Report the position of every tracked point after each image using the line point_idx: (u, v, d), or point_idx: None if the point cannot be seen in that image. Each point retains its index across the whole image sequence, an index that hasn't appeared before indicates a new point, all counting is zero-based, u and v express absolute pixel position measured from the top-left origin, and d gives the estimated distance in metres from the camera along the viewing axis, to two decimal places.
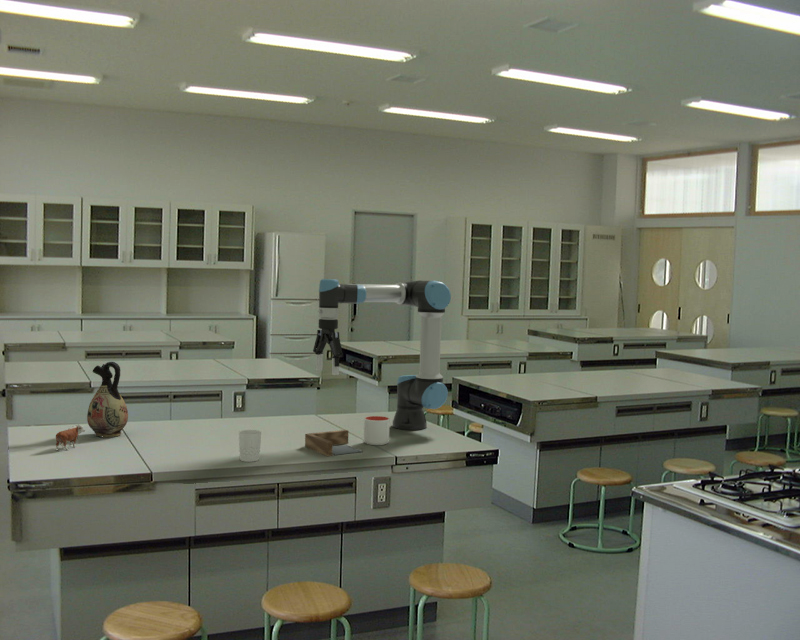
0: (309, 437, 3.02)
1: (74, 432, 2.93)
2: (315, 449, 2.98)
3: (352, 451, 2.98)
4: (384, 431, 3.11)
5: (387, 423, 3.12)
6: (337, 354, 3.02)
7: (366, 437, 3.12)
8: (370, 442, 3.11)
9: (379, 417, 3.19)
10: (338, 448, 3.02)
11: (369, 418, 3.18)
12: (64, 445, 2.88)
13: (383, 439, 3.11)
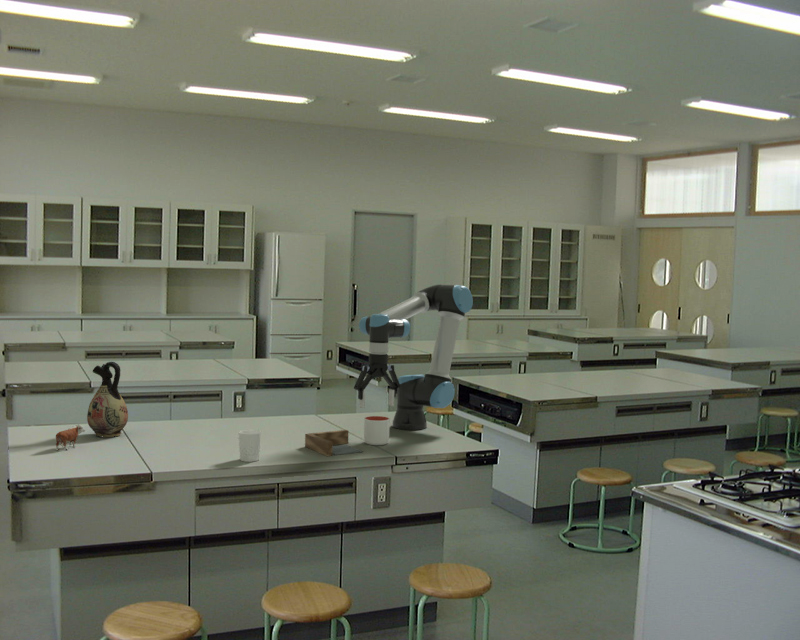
0: (309, 437, 3.02)
1: (74, 432, 2.93)
2: (315, 449, 2.98)
3: (352, 451, 2.98)
4: (384, 431, 3.11)
5: (387, 423, 3.12)
6: (354, 386, 3.09)
7: (366, 437, 3.12)
8: (370, 442, 3.11)
9: (379, 417, 3.19)
10: (338, 448, 3.02)
11: (369, 418, 3.18)
12: (64, 445, 2.88)
13: (383, 439, 3.11)
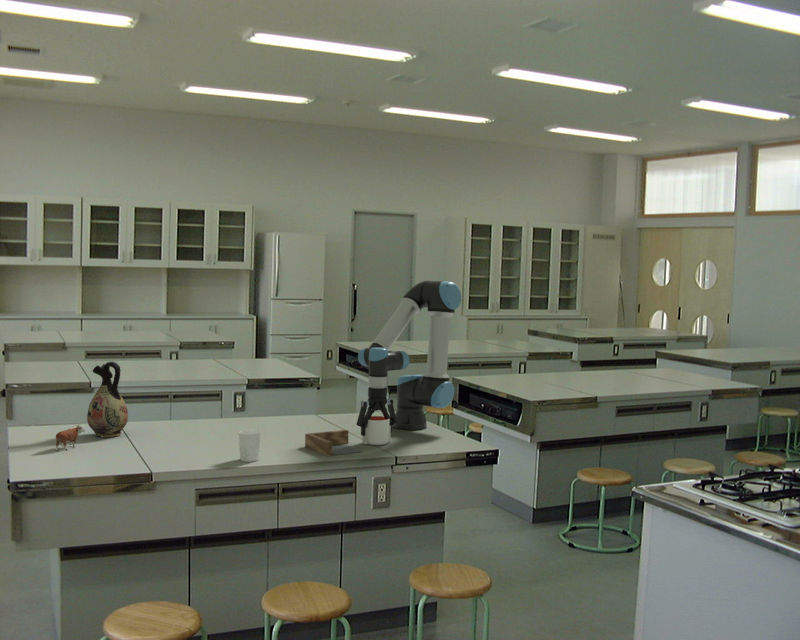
0: (309, 437, 3.02)
1: (74, 432, 2.93)
2: (315, 449, 2.98)
3: (352, 451, 2.98)
4: (384, 431, 3.11)
5: (387, 423, 3.12)
6: None
7: None
8: (370, 442, 3.11)
9: (379, 417, 3.19)
10: (338, 448, 3.02)
11: None
12: (64, 445, 2.88)
13: (383, 439, 3.11)
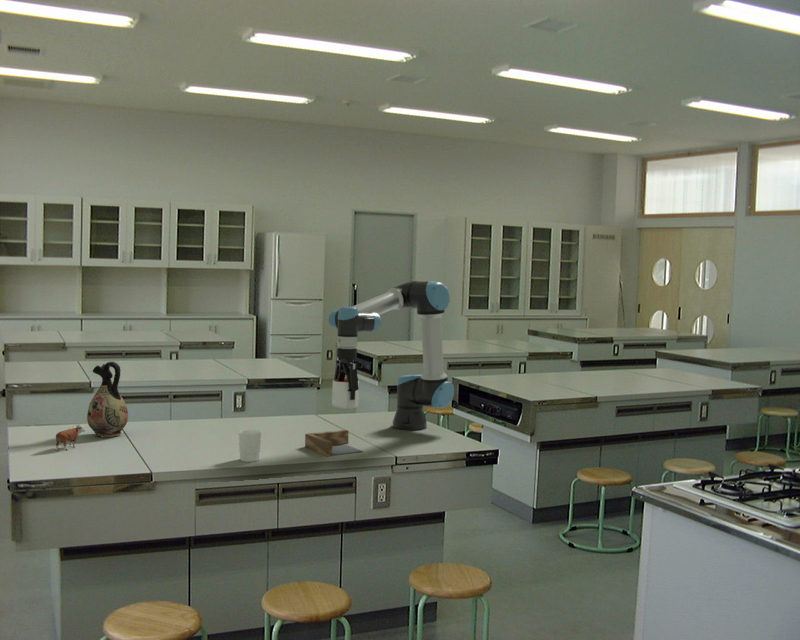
0: (309, 437, 3.02)
1: (74, 432, 2.93)
2: (315, 449, 2.98)
3: (352, 451, 2.98)
4: None
5: None
6: (352, 387, 2.93)
7: None
8: (355, 405, 2.98)
9: (334, 381, 3.02)
10: (338, 448, 3.02)
11: None
12: (64, 445, 2.88)
13: None
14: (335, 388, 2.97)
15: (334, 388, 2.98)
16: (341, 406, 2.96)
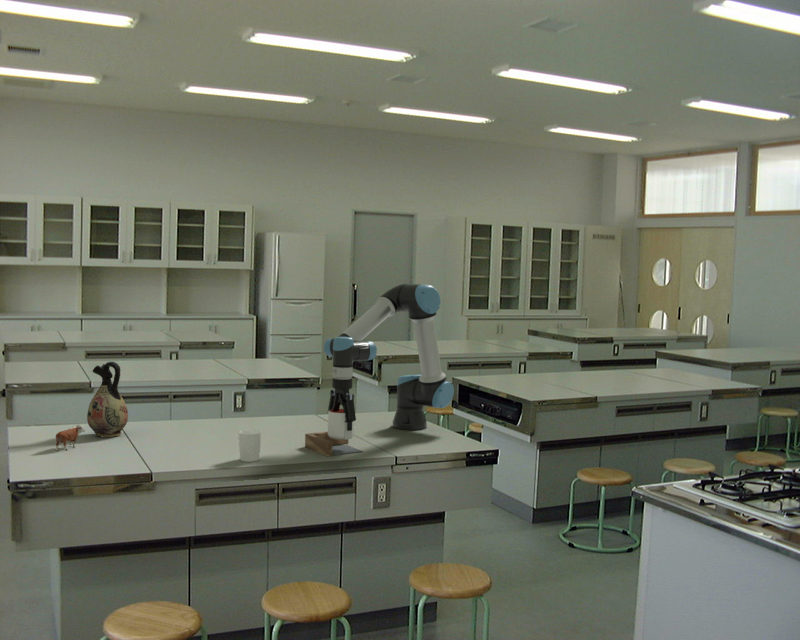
0: (309, 437, 3.02)
1: (74, 432, 2.93)
2: (315, 449, 2.98)
3: (352, 451, 2.98)
4: None
5: None
6: (350, 419, 2.92)
7: None
8: (352, 435, 2.98)
9: (329, 411, 3.01)
10: (338, 448, 3.02)
11: None
12: (64, 445, 2.88)
13: None
14: (331, 419, 2.96)
15: (330, 419, 2.97)
16: (338, 437, 2.96)
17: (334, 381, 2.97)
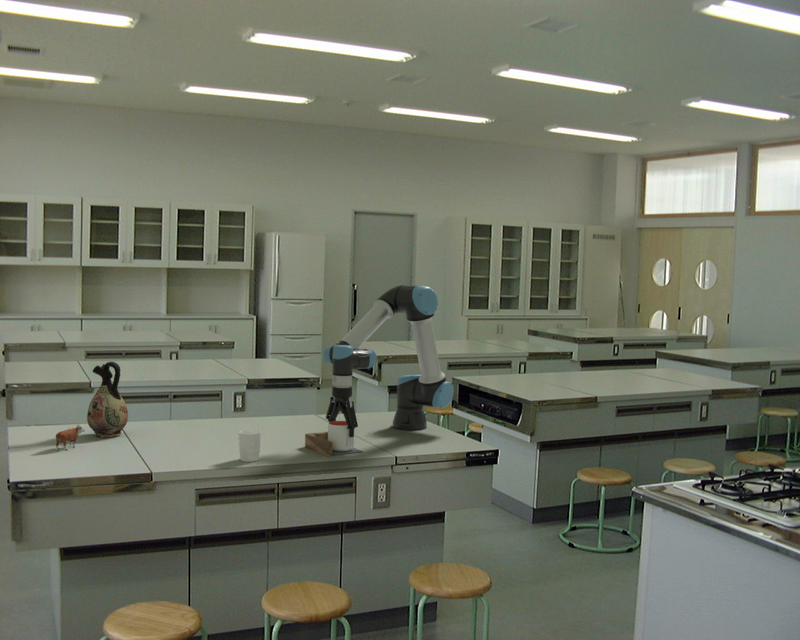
0: (309, 437, 3.02)
1: (74, 432, 2.93)
2: (315, 449, 2.98)
3: (352, 451, 2.98)
4: None
5: None
6: (352, 425, 2.91)
7: None
8: (352, 447, 2.98)
9: (329, 423, 3.01)
10: None
11: None
12: (64, 445, 2.88)
13: None
14: (331, 431, 2.97)
15: (330, 431, 2.97)
16: (338, 449, 2.96)
17: (334, 389, 2.97)
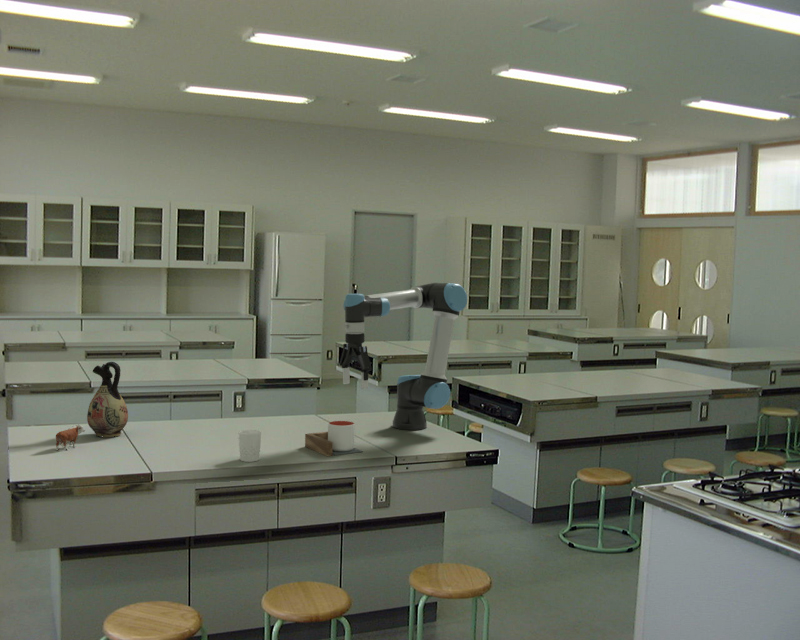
0: (309, 437, 3.02)
1: (74, 432, 2.93)
2: (315, 449, 2.98)
3: (352, 451, 2.98)
4: None
5: None
6: (366, 368, 3.05)
7: (348, 444, 2.97)
8: (352, 447, 2.98)
9: (329, 423, 3.01)
10: None
11: None
12: (64, 445, 2.88)
13: None
14: (331, 431, 2.97)
15: (330, 431, 2.97)
16: (338, 449, 2.96)
17: (347, 336, 3.11)
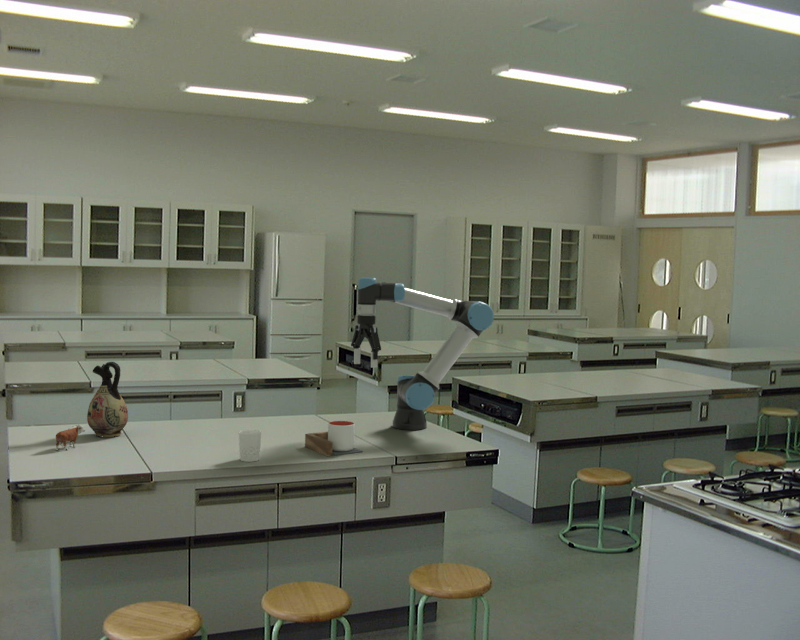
0: (309, 437, 3.02)
1: (74, 432, 2.93)
2: (315, 449, 2.98)
3: (352, 451, 2.98)
4: None
5: None
6: (376, 348, 3.22)
7: (348, 444, 2.97)
8: (352, 447, 2.98)
9: (329, 423, 3.01)
10: None
11: None
12: (64, 445, 2.88)
13: None
14: (331, 431, 2.97)
15: (330, 431, 2.97)
16: (338, 449, 2.96)
17: (359, 317, 3.28)
